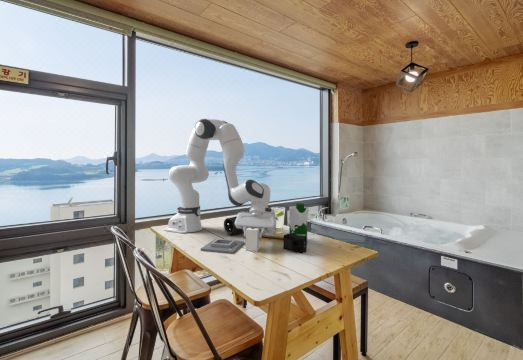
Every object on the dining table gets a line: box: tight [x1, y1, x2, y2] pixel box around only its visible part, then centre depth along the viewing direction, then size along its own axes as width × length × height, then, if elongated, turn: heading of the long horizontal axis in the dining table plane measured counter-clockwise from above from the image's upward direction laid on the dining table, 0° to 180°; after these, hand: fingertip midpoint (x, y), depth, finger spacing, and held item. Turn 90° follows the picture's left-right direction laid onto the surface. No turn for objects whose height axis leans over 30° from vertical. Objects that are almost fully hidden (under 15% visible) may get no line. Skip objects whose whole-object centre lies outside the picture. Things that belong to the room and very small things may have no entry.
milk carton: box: [288, 202, 309, 238], centre depth 143 cm, size 9×9×20 cm
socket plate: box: [200, 238, 245, 255], centre depth 134 cm, size 16×16×2 cm
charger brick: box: [245, 227, 260, 252], centre depth 130 cm, size 6×4×10 cm
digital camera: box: [282, 232, 308, 255], centre depth 129 cm, size 10×5×7 cm, turn 51°
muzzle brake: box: [223, 215, 246, 236], centre depth 163 cm, size 10×28×10 cm, turn 136°
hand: (252, 236), depth 130 cm, fingers closed on charger brick, 5 cm apart
